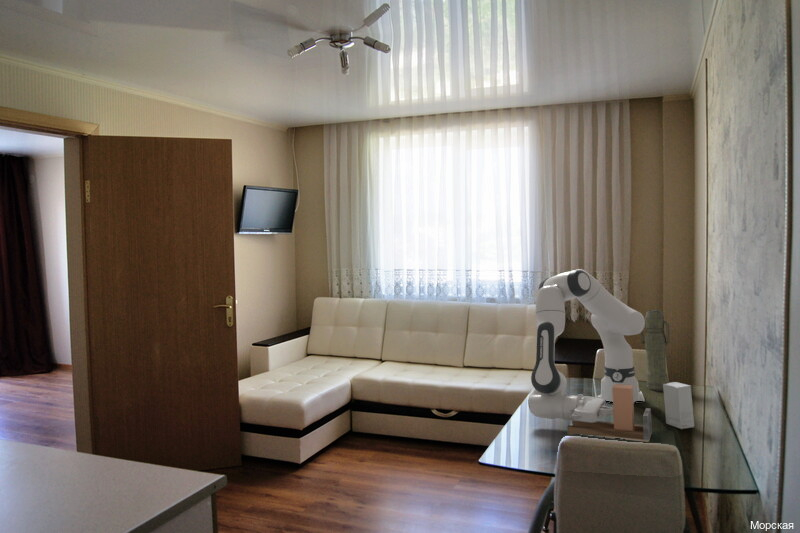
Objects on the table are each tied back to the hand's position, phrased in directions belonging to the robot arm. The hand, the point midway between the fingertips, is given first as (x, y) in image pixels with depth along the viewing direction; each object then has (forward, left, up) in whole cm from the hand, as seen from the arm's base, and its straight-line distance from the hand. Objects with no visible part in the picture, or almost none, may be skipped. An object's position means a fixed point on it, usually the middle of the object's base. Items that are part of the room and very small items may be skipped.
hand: (614, 411), depth 207 cm
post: (0, +3, -8) cm, 8 cm away
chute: (0, -3, -8) cm, 8 cm away
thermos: (-72, +7, -8) cm, 73 cm away
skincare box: (-17, +19, -8) cm, 27 cm away
